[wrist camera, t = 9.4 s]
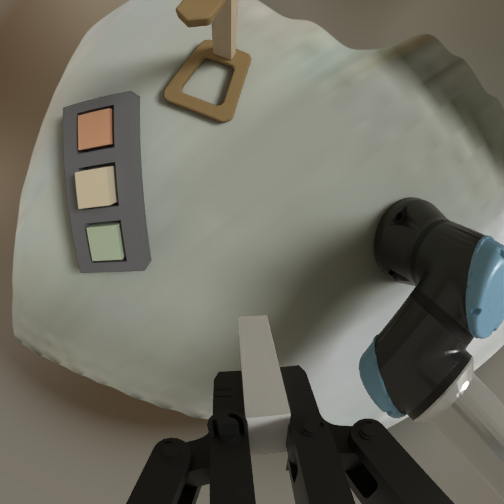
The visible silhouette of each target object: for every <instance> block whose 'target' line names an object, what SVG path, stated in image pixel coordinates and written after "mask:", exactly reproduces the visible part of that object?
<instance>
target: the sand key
mask: <svg viewBox="0 0 504 504" xmlns="http://www.w3.org/2000/svg"><path fill="white" fill-rule="evenodd" d="M75 181H76V192H77V200H78V208H79V209H83V208H91V207H99V206H108V205H111V204H114V203H116V202H118V197H117V186H116V174H115V166H109V167H103V168H97V169H91V170H85V171H80V172H75Z"/></svg>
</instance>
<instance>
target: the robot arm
mask: <svg viewBox="0 0 504 504" xmlns="http://www.w3.org/2000/svg"><path fill="white" fill-rule="evenodd" d="M374 253H375V258H376V261H377V264H378V266H379V267H380V269H381V270H382V271H383V272H384V273H385V274H386V275H387V276H389V277H390V278H391V279H393V280H394V281H396V282H399V283H404V284H408V285H413V286H416V287H415V288H414V290H413V291H412V293H411V294H410V295H409V297H408V298H407V299H406V301H405V302H404V303H403V305H402V306H401V307H400V309H399V310H398V311H397V313H396V314H395V315H394V316H393V318H392V319H391V320H390V321H389V323H388V324H387V325H386V326H385V328H384V329H383V330H382V331H381V332H380V334H379V335H376V336H375V337H374V339H373V342H372V343H371V345H370V346H369V347H368V348H367V350H366V351H365V352H364V353H363V355H362V356H361V359H360V362H359V371H360V377H361V380H362V382H363V385H364V387H365V389H366V391H367V392H368V394H369V396H370V397H371V399H372V400H373V401H374V403H375V404H376V405H377V406H378V407H379V408H380V409H381V410H382V411H383V412H387V414H388V415H389V416H391V417H393V418H400V417H403V416H405V415H406V414H408V416H409V417H410V418H411V419H412V420H413V421H414V422H422V421H429V422H431V423H432V424H433V425H434V426H435V427H436V429H437V430H438V431H439V432H440V433H441V434H442V435H443V436H444V437H445V438H446V439H447V440H448V441H449V443H450V444H451V445H452V446H453V447H454V448H455V449H456V450H457V451H458V452H459V453H460V454H461V455H462V457H463V458H464V459H465V460H466V461H467V462H468V463H469V464H470V465H471V466H472V467H473V468H474V470H475V471H476V472H477V473H478V474H479V475H480V476H481V477H482V478H483V479H484V480H485V481H486V483H487V484H488V485H489V486H490V487H491V488H492V489H493V490H494V492H495V493H496V494H497V495H498V496H499V497H500V498H501V499H502V500H503V501H504V405H503V404H502V403H501V401H499V399H498V398H497V397H496V396H495V395H494V394H493V393H492V392H491V391H490V390H489V389H488V388H487V387H486V386H485V385H484V384H483V383H482V382H481V381H480V380H479V379H478V378H477V377H476V376H475V374H474V372H473V356H471V355H470V354H469V353H468V352H467V351H466V347H467V346H468V344H469V343H470V342H471V341H472V339H473V338H474V337H475V338H481V339H483V338H486V337H488V336H490V335H491V334H492V332H493V331H495V330H496V329H497V328H498V327H499V326H500V324H501V323H502V321H503V320H504V245H502V244H500V243H499V242H497V241H495V240H494V239H493V238H492V237H491V236H487V235H483V234H481V233H479V232H476V231H474V230H472V229H469V228H467V227H464V226H462V225H459V224H457V223H454V222H452V221H449V220H448V219H447V218H446V217H445V216H444V215H443V214H442V213H441V212H440V211H439V210H438V209H437V208H436V207H435V206H434V205H433V204H431V203H430V202H428V201H425V200H422V199H419V198H405V199H402V200H400V201H398V202H397V203H395V204H394V205H393V206H391V207H390V208H389V209H388V210H387V212H386V213H385V214H384V216H383V217H382V219H381V221H380V223H379V225H378V228H377V231H376V234H375V240H374ZM238 327H239V344H240V361H241V371H228V372H219V373H218V374H217V376H216V377H215V379H214V392H213V415H212V416H211V417H210V418H209V421H208V424H207V426H208V430H209V433H208V434H207V435H206V436H204V437H202V438H200V439H197V440H194V441H189V442H184V441H182V440H180V439H178V438H167V439H163V440H162V441H160V442H158V443H157V444H156V446H155V447H154V449H153V451H152V453H151V455H150V457H149V459H148V461H147V463H146V465H145V467H144V469H143V471H142V473H141V475H140V477H139V479H138V481H137V483H136V485H135V487H134V489H133V491H132V493H131V495H130V497H129V499H128V501H127V503H126V504H196V501H197V498H198V495H199V492H200V489H201V486H202V485H206V484H210V504H256V502H255V493H254V484H253V475H252V465H251V455H254V454H267V453H277V452H285V451H286V447H287V452H288V460H287V466H286V470H289V473H290V478H291V483H292V488H293V493H294V498H295V502H296V504H355V501H354V499H353V495H352V492H351V489H352V491H353V492H354V494H355V495H356V496H357V498H358V499H359V500H360V502H361V503H362V504H454V503H453V502H452V501H451V500H450V499H449V497H448V496H446V494H445V493H444V492H443V491H442V490H441V489H440V488H439V487H438V486H437V485H436V484H435V482H434V481H433V480H432V479H431V478H430V477H429V476H428V475H427V474H426V473H425V472H424V470H423V469H422V468H421V467H420V466H419V465H418V464H417V463H416V462H415V460H414V459H413V458H412V457H411V456H410V455H409V454H408V453H407V452H406V451H405V449H404V448H403V447H402V446H401V445H400V444H399V443H398V442H397V441H396V439H395V438H394V437H393V436H392V435H391V434H390V433H389V432H388V430H387V429H386V428H385V427H384V426H383V425H382V424H381V423H380V422H378V421H376V420H373V419H362V420H359V421H357V422H356V423H355V424H354V425H353V426H339V425H333V424H331V423H328V422H327V421H325V420H324V419H323V418H322V417H321V415H320V413H319V410H318V407H317V404H316V401H315V398H314V395H313V392H312V389H311V386H310V383H309V380H308V377H307V374H306V372H305V371H304V370H303V369H302V368H301V367H300V366H299V365H297V366H288V367H279V362H278V358H277V354H276V350H275V346H274V342H273V337H272V333H271V329H270V325H269V321H268V317H267V315H257V316H239V317H238ZM350 488H351V489H350Z"/></svg>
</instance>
